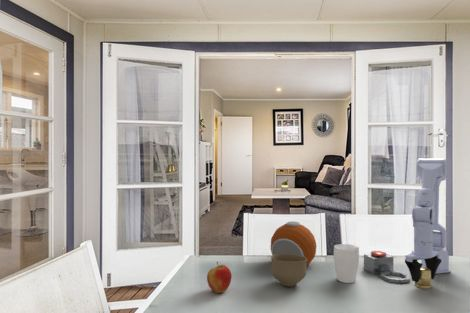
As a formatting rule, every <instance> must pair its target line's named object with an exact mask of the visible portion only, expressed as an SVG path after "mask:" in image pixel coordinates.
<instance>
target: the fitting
mask: <svg viewBox="0 0 470 313" xmlns="http://www.w3.org/2000/svg"><path fill="white" fill-rule="evenodd" d="M414 286H415V287H417V288H419V289H421V290H429V289H432V288H433V286H432V279H431V269H429V268H426V267H421V269H420V275H419V282H414Z"/></svg>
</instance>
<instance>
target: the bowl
mask: <svg viewBox="0 0 470 313" xmlns="http://www.w3.org/2000/svg"><path fill="white" fill-rule="evenodd" d="M270 259H271V268H270V269H271V274H272V276H273V277H274V278H275V279H276V280H277V281H278V282H279V283H280V284H281V285H282V286H284V287H295V286H297V284H298V283H300V282H301V281H302V280H304V279H305V277H306V275H307V267H306V262H307V258H306V257H304V256H300V255H294V254H276V255H272V254H271V256H270Z"/></svg>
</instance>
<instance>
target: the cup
mask: <svg viewBox="0 0 470 313" xmlns="http://www.w3.org/2000/svg"><path fill="white" fill-rule="evenodd" d="M333 260H334V261H333V262H334V268H335V275H336V280H337V281H339V282H341V283H344V284H352V283H356V281H357V276H358V268H359V262H360V247H358V246H357V245H354V244H349V243H348V244H347V243H339V244H335V245H334V246H333Z"/></svg>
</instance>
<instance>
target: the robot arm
mask: <svg viewBox="0 0 470 313" xmlns="http://www.w3.org/2000/svg"><path fill="white" fill-rule="evenodd" d="M447 164H448V162H447V159H446V158H421V157H419V158H418V159H417V162H416V172H417V175H418V177H419V179H420V180H421V189H419V190H418V191H417V195H416V200H415V206H412V210H411V211H412V212H411V214H412V215H411V218H412V226H413V250H411V253H409V254H405V259H404V263H405V264H406V267H407V268H408V272H409V274H410V279H411V281H412V282H413V283H415V282H419V275H420V269H421V267H426V268H429V269H431V280H434V279H435V277H436V275H437V274H444V273H451V272H452V271H451V270H450V264H449V263H450V255H449V252H448V250H447V242H448V241H447V240H448V238H447V236H448V235H447V230H446V228H445V227H444V226H443V225H441V224H440V223H439V212H440V211H439V210H440V208H439V206H440V205H439V204H440V185H441V183H442V182H443V181H446V180H447V171H448V170H447V169H448V168H447V167H448V165H447ZM420 260H421V261H420ZM419 261H420V262H419Z"/></svg>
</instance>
